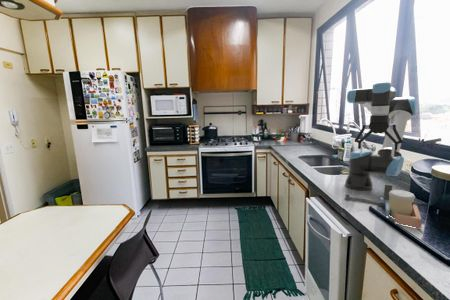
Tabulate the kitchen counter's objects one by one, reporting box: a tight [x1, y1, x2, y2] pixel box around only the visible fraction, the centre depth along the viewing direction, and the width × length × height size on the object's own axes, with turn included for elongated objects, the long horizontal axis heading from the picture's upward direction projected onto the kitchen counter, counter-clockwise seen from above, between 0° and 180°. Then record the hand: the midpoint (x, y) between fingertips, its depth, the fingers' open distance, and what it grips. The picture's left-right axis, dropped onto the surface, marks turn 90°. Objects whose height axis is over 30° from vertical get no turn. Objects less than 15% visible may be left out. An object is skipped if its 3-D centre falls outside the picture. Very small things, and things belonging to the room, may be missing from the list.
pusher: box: [379, 182, 394, 218], centre depth 109 cm, size 18×6×11 cm, turn 146°
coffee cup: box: [389, 189, 416, 218], centre depth 103 cm, size 9×9×12 cm
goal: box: [394, 203, 422, 229], centre depth 102 cm, size 16×9×4 cm, turn 146°
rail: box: [344, 192, 385, 207], centre depth 119 cm, size 2×26×3 cm, turn 56°
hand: (376, 155), depth 116 cm, fingers open, 13 cm apart
